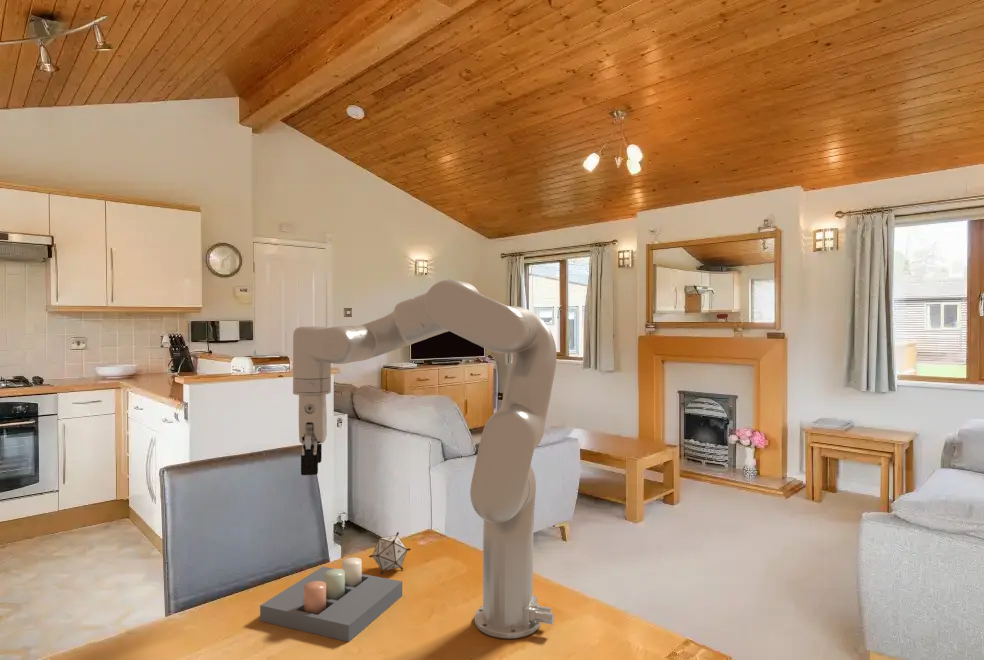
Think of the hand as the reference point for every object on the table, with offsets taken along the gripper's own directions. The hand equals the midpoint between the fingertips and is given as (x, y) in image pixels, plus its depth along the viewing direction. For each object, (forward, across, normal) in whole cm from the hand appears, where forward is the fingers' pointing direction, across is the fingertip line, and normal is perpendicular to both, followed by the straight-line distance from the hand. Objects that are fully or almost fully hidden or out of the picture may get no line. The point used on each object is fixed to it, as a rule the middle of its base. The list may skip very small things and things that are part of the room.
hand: (311, 468), depth 124 cm
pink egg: (+24, -12, -2) cm, 27 cm away
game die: (+27, +9, -17) cm, 33 cm away
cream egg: (+24, -2, -8) cm, 26 cm away
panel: (+26, -7, -5) cm, 28 cm away
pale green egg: (+24, -7, -5) cm, 26 cm away
